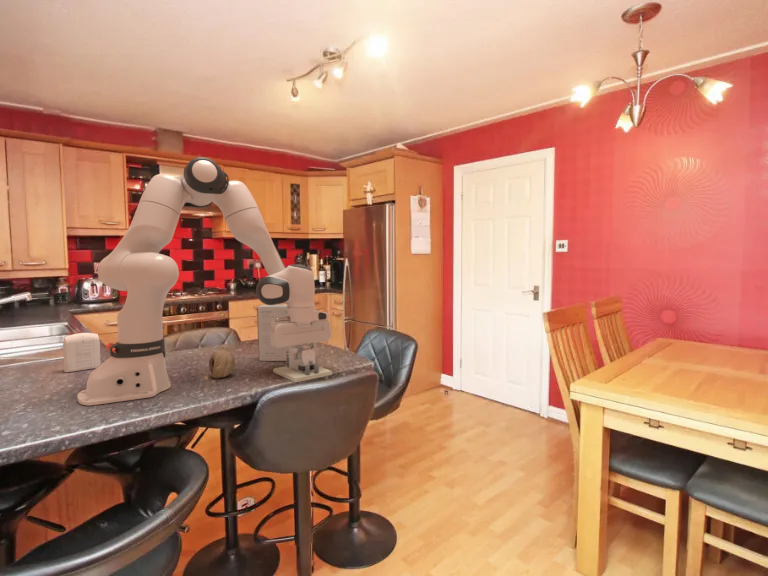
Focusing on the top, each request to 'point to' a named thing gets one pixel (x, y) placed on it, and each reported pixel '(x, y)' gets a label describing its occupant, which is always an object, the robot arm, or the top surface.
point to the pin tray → (300, 376)
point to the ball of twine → (221, 363)
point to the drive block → (302, 358)
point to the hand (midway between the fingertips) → (301, 357)
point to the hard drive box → (269, 332)
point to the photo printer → (81, 352)
